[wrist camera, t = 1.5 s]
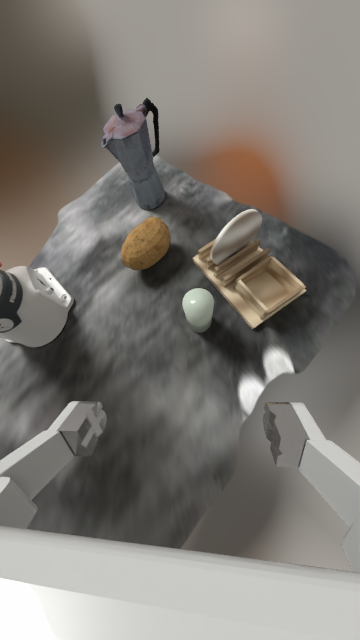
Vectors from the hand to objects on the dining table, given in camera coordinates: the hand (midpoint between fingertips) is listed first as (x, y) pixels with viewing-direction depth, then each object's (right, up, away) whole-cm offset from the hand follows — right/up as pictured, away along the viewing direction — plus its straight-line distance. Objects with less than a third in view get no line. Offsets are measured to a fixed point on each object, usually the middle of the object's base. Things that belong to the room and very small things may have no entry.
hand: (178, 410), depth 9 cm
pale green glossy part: (+5, +4, +31) cm, 32 cm away
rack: (+15, +15, +33) cm, 40 cm away
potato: (-8, +21, +39) cm, 45 cm away
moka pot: (-8, +41, +45) cm, 61 cm away
